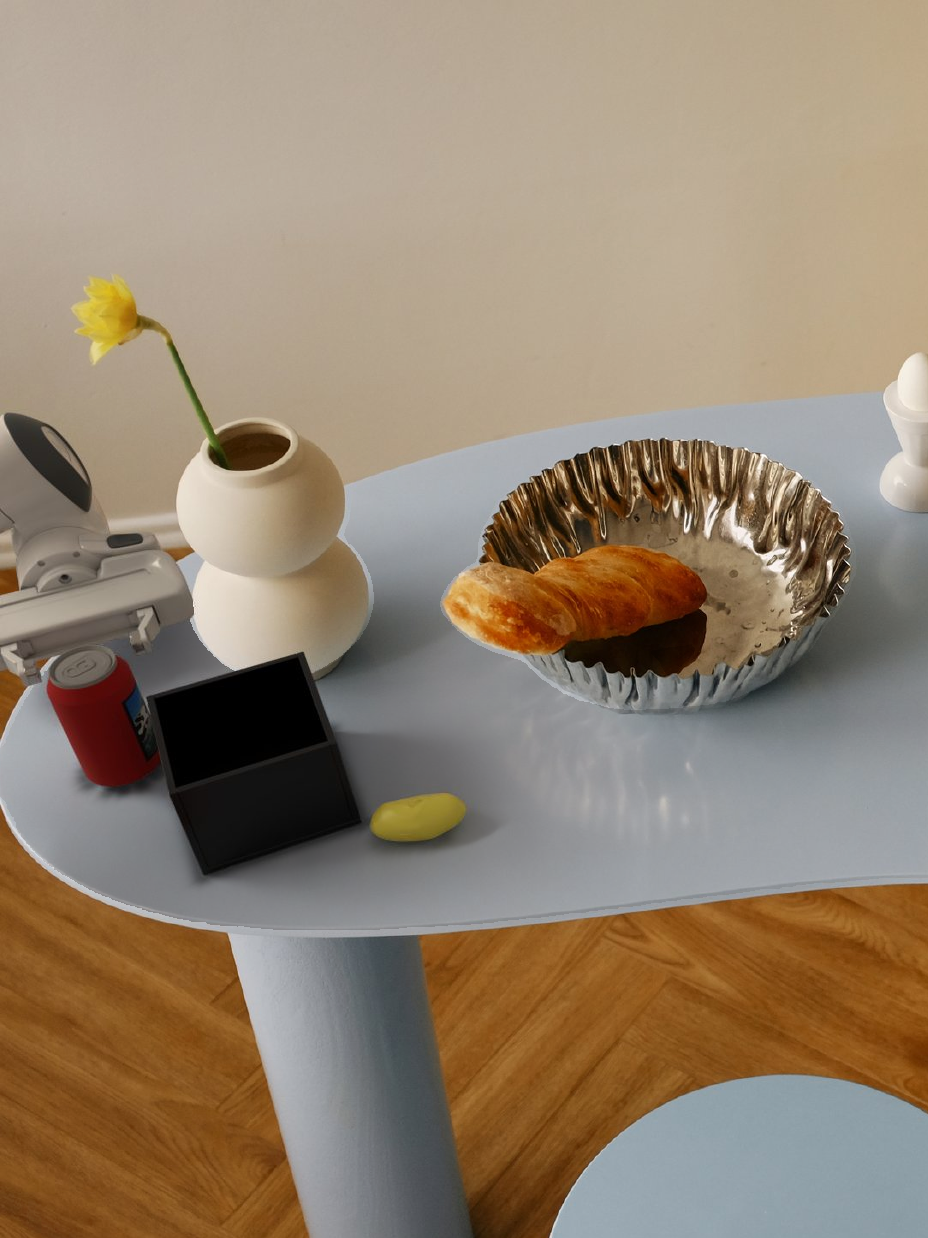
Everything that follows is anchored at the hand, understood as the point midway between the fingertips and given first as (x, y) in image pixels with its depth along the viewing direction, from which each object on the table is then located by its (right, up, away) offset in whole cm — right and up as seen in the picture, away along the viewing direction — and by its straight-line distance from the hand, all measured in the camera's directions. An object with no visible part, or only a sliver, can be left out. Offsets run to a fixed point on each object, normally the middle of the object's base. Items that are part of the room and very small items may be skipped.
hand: (86, 663), depth 136 cm
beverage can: (+4, -9, 0) cm, 10 cm away
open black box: (+18, -12, -4) cm, 22 cm away
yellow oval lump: (+32, -15, -7) cm, 36 cm away
